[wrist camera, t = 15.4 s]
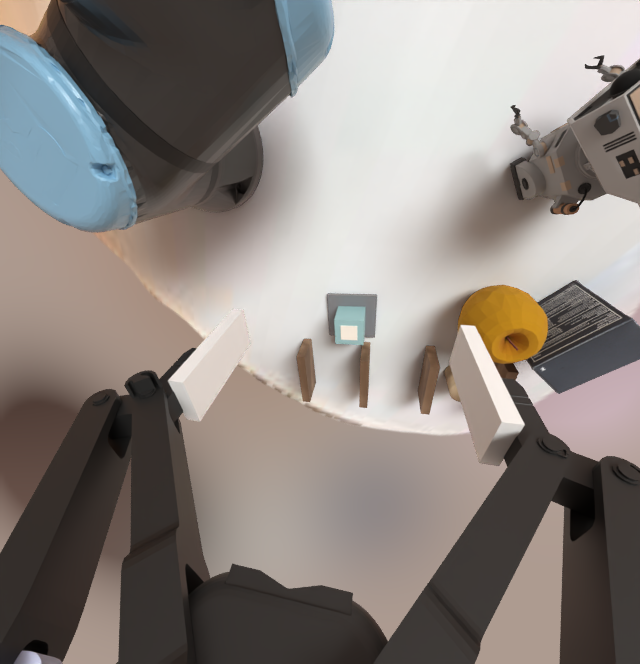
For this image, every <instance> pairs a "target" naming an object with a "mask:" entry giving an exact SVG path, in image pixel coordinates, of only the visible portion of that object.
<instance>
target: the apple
mask: <svg viewBox="0 0 640 664" xmlns="http://www.w3.org/2000/svg"><path fill="white" fill-rule="evenodd" d="M460 325H469V326H475V327H476V329H477V331H478V333H479V335H480V337H481V339H482V341H483V343H484V345H485V347H486V349H487V351H488V353H489V355H490V357H491V359H492V361H493V362H496V363H500V364H506V363H515V362H519V361H522V360H526V359H528V358H530V357H532V356H533V355H535V354H537V353H538V352H539V350H540V349H541V348H542V346H543V344H544V343H545V341H546V338H547V333H548V318H547V316H546V314H545V312H544V310H543V309H542V308H541V307H540V306H539V304H538V303H537V302H536V301H535V300H534V299H533V298H532V297H531V296H530V295H529V294H528V293H526V292H524V291H522V290H520V289H517V288H514V287H510V286H506V285H497V286H489V287H486V288H482V289H480V290H478V291H477V292H475V293H474V294H472V295H471V296H470V297H469V299H468V300H467V301H466V302H465V304H464V305H463V307H462V310H461V313H460V316H459V319H458V331H459V328H460Z"/></svg>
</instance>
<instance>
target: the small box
mask: <svg viewBox="0 0 640 664" xmlns="http://www.w3.org/2000/svg"><path fill="white" fill-rule="evenodd" d="M538 304H539V306H540V307H541V308H542V309H543V310H544V312H545V314H546V316H547V318H548V333H547V338H546V341H545V343H544V344H543V346H542V348H541V349H540V350H539V352H538V353H537V354H535V355H533V356H532V357H530V358H528V359H526V360H527V362H528V363H529V364H530V366H531V368H532V369H533V370H534V371H535V372H536V373H537V374H538V375H539V376H540V377H541V378H542V379H543V380H544V381H545V382H546V383H547V384H548V385H549V386H550V387H552V389H554V390H555V392H557V393H558V394H560V393H562V392H564V391H567V390H569V389H571V388H574V387H576V386H578V385H581V384H583V383H585V382H588V381H590V380H592V379H595V378H597V377H599V376H602V375H604V374H606V373H609V372H611V371H613V370H616V369H618V368H620V367H622V366H625V365H628V364H630V363H632V362H635V361H637V360H639V359H640V326H639V325H638V324H637V323H636V322H635V320H634V319H633V318H631V317H629V316H627V315H625V314H624V313H622V312H621V311H619V310H618V309H616V308H615V307H613V306H612V305H611V304H609V303H608V302H606V301H605V300H603V299H602V298H600V297H599V296H598V295H596V294H595V293H593V292H592V291H590V290H589V289H587V288H586V287H584V286H583V285H582V284H581V283H580V282H578V281H577V280H575V281H573V282H571V283H570V284H568V285H566V286H565V287H563V288H561V289H560V290H558V291H557V292H555V293H553V294H552V295H550V296H548V297H547V298H545V299H543V300H542V301H540V302H539V303H538Z"/></svg>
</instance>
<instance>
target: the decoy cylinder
mask: <svg viewBox="0 0 640 664" xmlns="http://www.w3.org/2000/svg"><path fill="white" fill-rule="evenodd" d="M445 377H446V381H447V385H448V389H449V393H450V396H451V397H452V398H453V399H454V400H456V401H459V402H461V401H460V397H459V394H458V391H457V387H456V384H455V381H454V377H453V374H452V371H451V367H450V365H449V366H448V367H447V368H446V369H445Z"/></svg>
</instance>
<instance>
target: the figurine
mask: <svg viewBox="0 0 640 664" xmlns="http://www.w3.org/2000/svg"><path fill="white" fill-rule="evenodd" d="M595 59H600V61H599V63H598V65H597V66H588V65H586V64H585V68H586V69H599V70H598V71H597V72H599V73H602V74H604V75H603V76H602V77H601V79H602V80H603V81H605V82H611V83H610V84H609V85H607V86H606V87H605V88H604V89H603V90H602V91H600V92H599V93H598V94H597V95H596V96H594V97H593V98H592V99H591V100H590V101H589V102H587V103H586V104H585V105H584V106H583V107H581V108H580V109H579V110H578V111H577V112H576V113H574V114H573V115H572V116H571V117H570V118H569V119H567V122H568V123H566V124H564V125H563V126H561V127H559V128H557V129H555V130H554V131H552V132H551V133H550V134H548V135H547V136H545V137H543V138H541V140H540V141H538V139H537V138H538V137H539V135H540V132H539V131H537V130H535V131H532V130H531V129H530V128H528V126H527V123H526V122H525V121H523V120H521V116H520V114H519V113H520V110H519V109H517V108H515V106H516V105H512V106H511V108H512V109H513V111H514V112H515V114H516V115H515V116H514V117H515V119H514V122H515V124H513V125H511V127H510V128H511V130H512V132H513V133H515V134H516V135H521V136H522V138H523V139H526V144H527V145H528V146H532V145H533V152H534V153H533V155H532V156H531V158H530V160H529V162H528V161H526V159H525V158H520V159H518V160H516V161H514V162H513V163H511V164H510V166H511V170H512V174H513V178H514V182H515V186H516V190H517V194H518V198H519V200H523V199H532V198H534V197H536V196H538V195H539V196H542V197H546V198H549V199H553V200H555V201H554V202H555V203H554V205H553V206H552V207H551V209H550V211H551V213H552V214H564V215H569V214H575V213H576V212H577V211H578V210H579V206H580V205H581V204H582V202H583V201H584V200H594V199H596V198H598V197H600V196H603V195H605V194H611V195H614V196H617V197H620V198H623V199H626V200H629V201H632V202H636V203H638V205H639V207H640V59H639V60H637V61H636V62H635V63H634V64H633V65H631V66H630V67H629V68H628V69H627V70H624V67H623V66H621V65H613V66H610V67H607V66H605V65H602V63H603V59H604V55H603V56H598V57H595ZM578 200H581V201H580V203H579V204H576V203H577V202H578Z"/></svg>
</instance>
